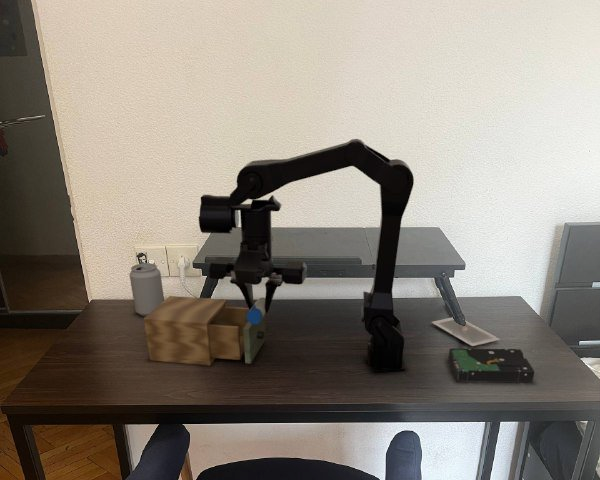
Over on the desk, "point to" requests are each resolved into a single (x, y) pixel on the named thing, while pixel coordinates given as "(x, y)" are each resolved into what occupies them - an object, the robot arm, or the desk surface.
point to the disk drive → (490, 365)
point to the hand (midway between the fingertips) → (259, 311)
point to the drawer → (235, 335)
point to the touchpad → (466, 332)
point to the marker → (256, 311)
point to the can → (146, 287)
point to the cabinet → (182, 329)
